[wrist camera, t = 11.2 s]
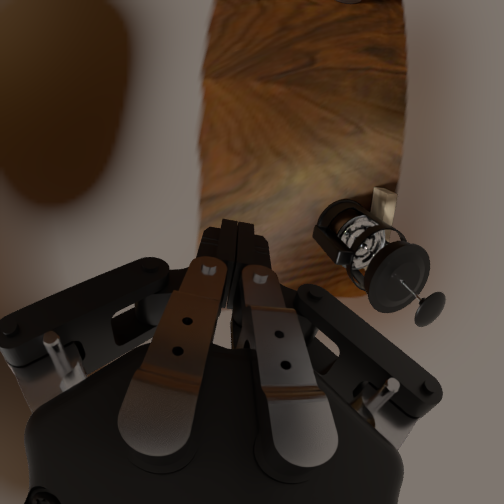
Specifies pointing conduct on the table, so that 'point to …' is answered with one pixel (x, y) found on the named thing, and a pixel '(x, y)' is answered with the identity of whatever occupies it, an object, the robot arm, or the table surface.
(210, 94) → the table surface
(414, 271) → the french press
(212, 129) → the table surface
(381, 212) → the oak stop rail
